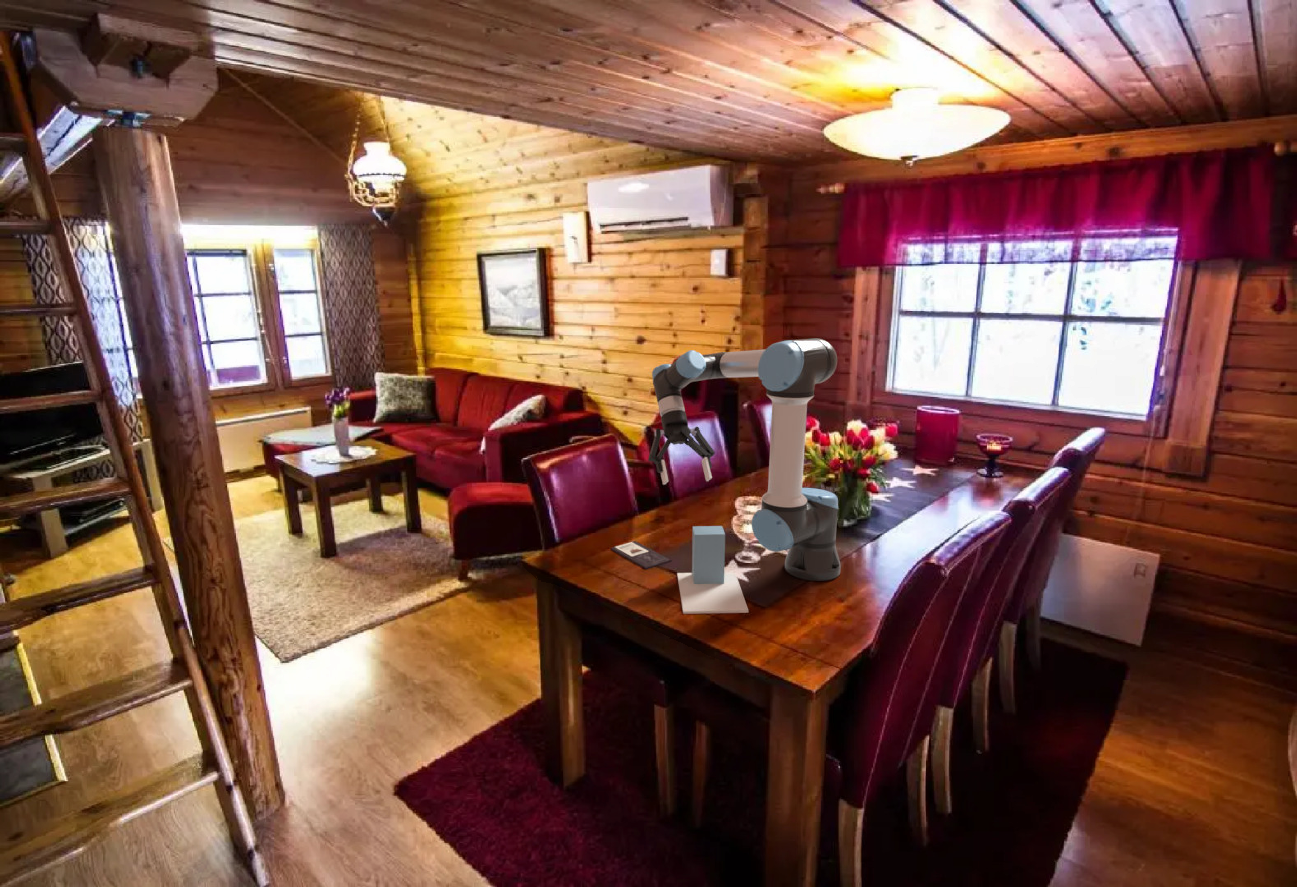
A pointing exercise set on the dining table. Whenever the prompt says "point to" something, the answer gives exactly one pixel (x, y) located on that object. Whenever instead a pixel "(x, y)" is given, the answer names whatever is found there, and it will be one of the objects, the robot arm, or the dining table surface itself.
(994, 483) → the dining table surface
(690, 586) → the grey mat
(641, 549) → the chocolate bar
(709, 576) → the blue block
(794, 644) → the dining table surface
